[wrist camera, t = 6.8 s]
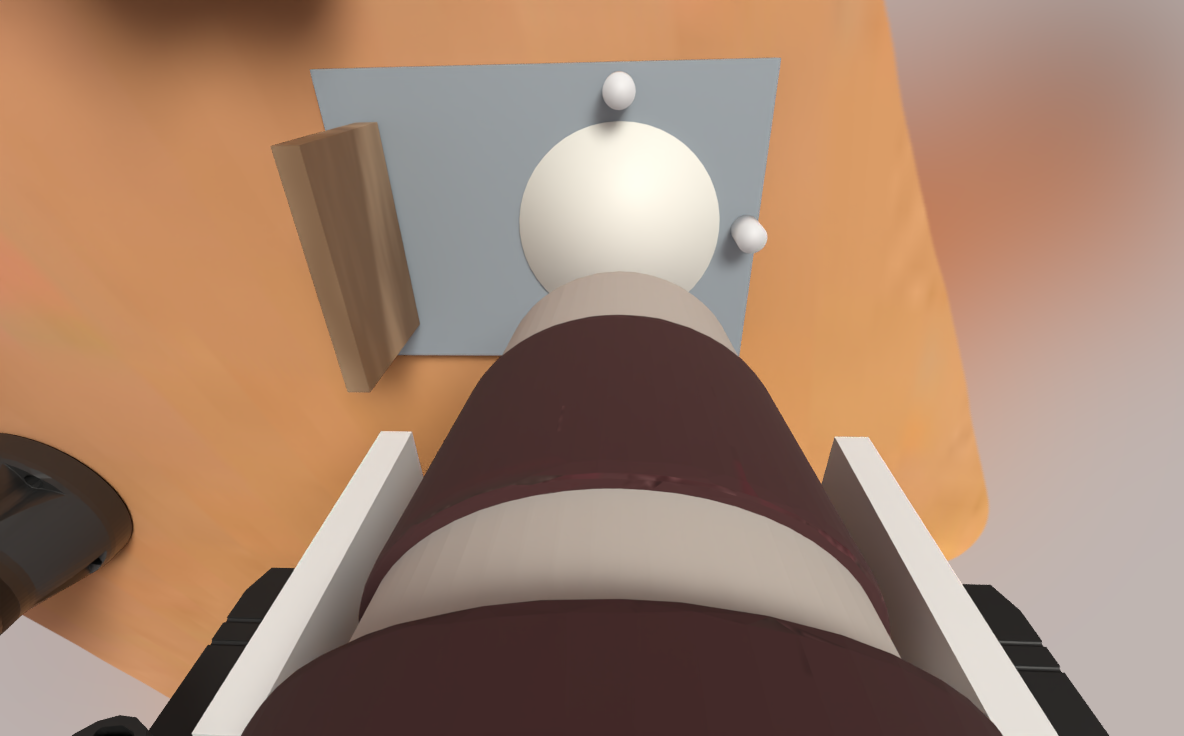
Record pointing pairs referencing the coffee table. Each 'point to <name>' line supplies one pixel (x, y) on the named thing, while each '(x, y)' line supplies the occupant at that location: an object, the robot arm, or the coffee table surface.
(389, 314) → the panel
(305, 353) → the coffee table surface
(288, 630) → the robot arm
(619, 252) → the grey flat slab
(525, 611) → the coffee cup
